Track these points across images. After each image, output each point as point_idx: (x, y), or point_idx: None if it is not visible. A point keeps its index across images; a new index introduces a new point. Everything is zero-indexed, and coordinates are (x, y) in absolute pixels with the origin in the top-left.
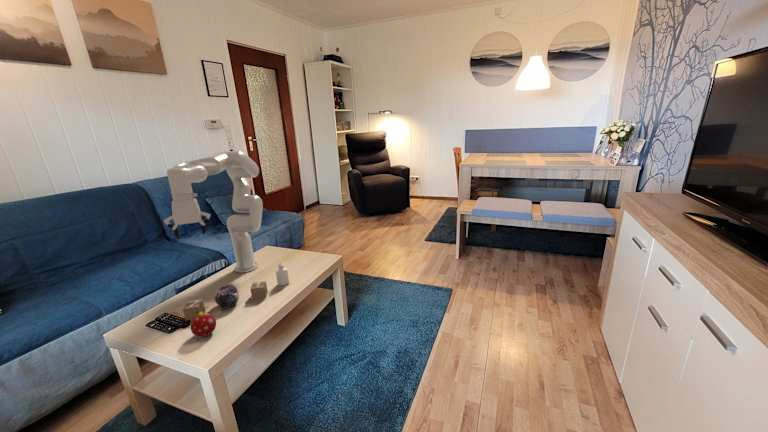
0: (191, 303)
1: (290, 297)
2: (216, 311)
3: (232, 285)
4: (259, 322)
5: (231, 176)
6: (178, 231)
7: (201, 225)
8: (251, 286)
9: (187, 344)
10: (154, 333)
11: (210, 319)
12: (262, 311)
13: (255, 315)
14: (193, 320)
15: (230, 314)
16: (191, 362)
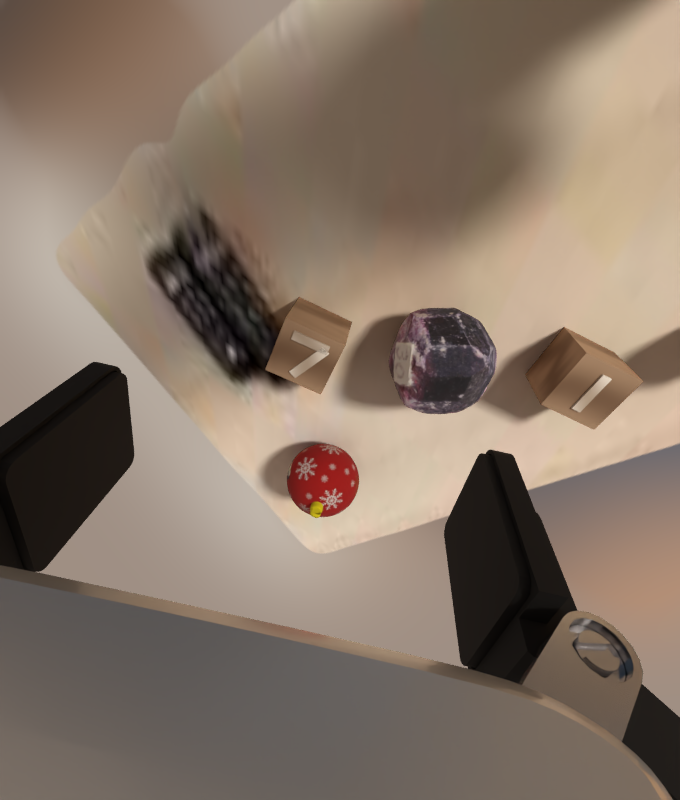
0: (298, 350)
1: (637, 454)
2: (384, 356)
3: (482, 379)
4: None
5: None
6: (63, 462)
7: (491, 631)
8: (558, 384)
9: (280, 465)
10: (188, 348)
11: (340, 511)
12: None
13: None
14: (294, 497)
15: None
16: (286, 526)
